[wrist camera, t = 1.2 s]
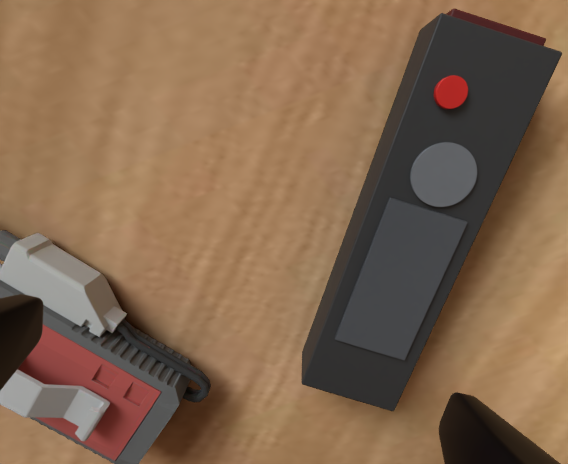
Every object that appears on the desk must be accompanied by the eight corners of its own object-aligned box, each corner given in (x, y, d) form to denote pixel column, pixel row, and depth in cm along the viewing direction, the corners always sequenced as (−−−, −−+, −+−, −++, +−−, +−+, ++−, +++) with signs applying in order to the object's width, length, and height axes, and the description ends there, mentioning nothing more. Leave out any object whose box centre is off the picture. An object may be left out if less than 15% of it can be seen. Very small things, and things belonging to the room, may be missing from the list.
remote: (383, 376, 22) (395, 416, 19) (302, 352, 22) (300, 388, 19) (528, 51, 17) (575, 37, 14) (424, 17, 17) (449, -4, 14)
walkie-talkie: (237, 345, 22) (-97, 145, 20) (219, 399, 18) (-207, 152, 16) (164, 446, 24) (-141, 277, 22) (133, 516, 20) (-247, 314, 18)
